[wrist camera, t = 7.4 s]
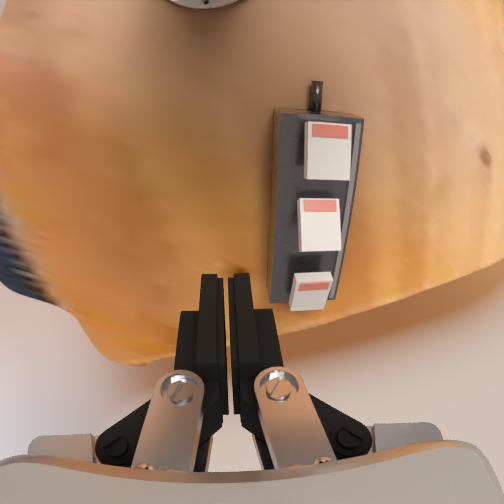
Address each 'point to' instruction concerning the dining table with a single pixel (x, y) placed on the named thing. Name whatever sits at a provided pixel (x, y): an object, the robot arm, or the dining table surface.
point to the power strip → (296, 186)
